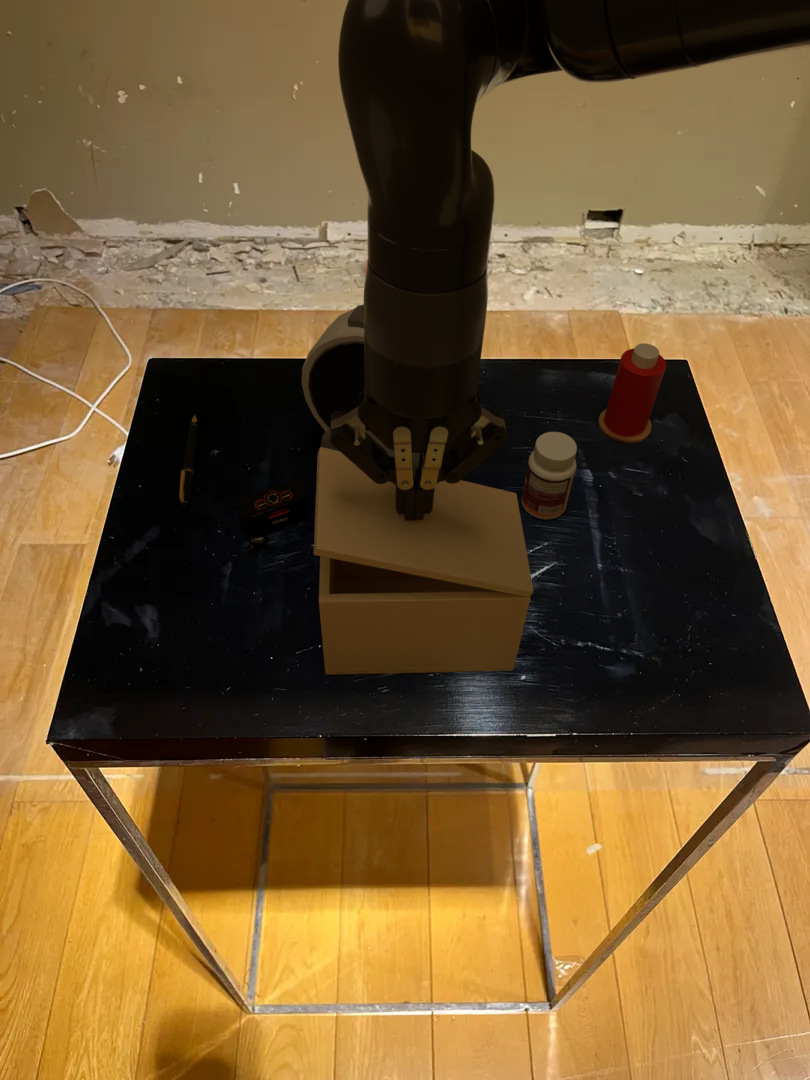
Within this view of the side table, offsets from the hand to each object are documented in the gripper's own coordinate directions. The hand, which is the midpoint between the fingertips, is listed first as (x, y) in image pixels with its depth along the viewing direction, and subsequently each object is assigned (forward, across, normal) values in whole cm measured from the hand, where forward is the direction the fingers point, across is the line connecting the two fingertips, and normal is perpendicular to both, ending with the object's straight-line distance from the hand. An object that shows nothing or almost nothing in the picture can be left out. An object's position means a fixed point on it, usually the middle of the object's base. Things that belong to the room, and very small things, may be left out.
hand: (413, 512), depth 65 cm
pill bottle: (+15, +15, +15) cm, 26 cm away
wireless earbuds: (+15, -13, +12) cm, 24 cm away
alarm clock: (+15, -2, +22) cm, 27 cm away
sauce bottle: (+15, +26, +27) cm, 40 cm away
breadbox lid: (+1, +1, 0) cm, 2 cm away
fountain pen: (+15, -22, +21) cm, 35 cm away
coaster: (+15, +26, +27) cm, 40 cm away
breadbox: (+15, +1, 0) cm, 15 cm away
